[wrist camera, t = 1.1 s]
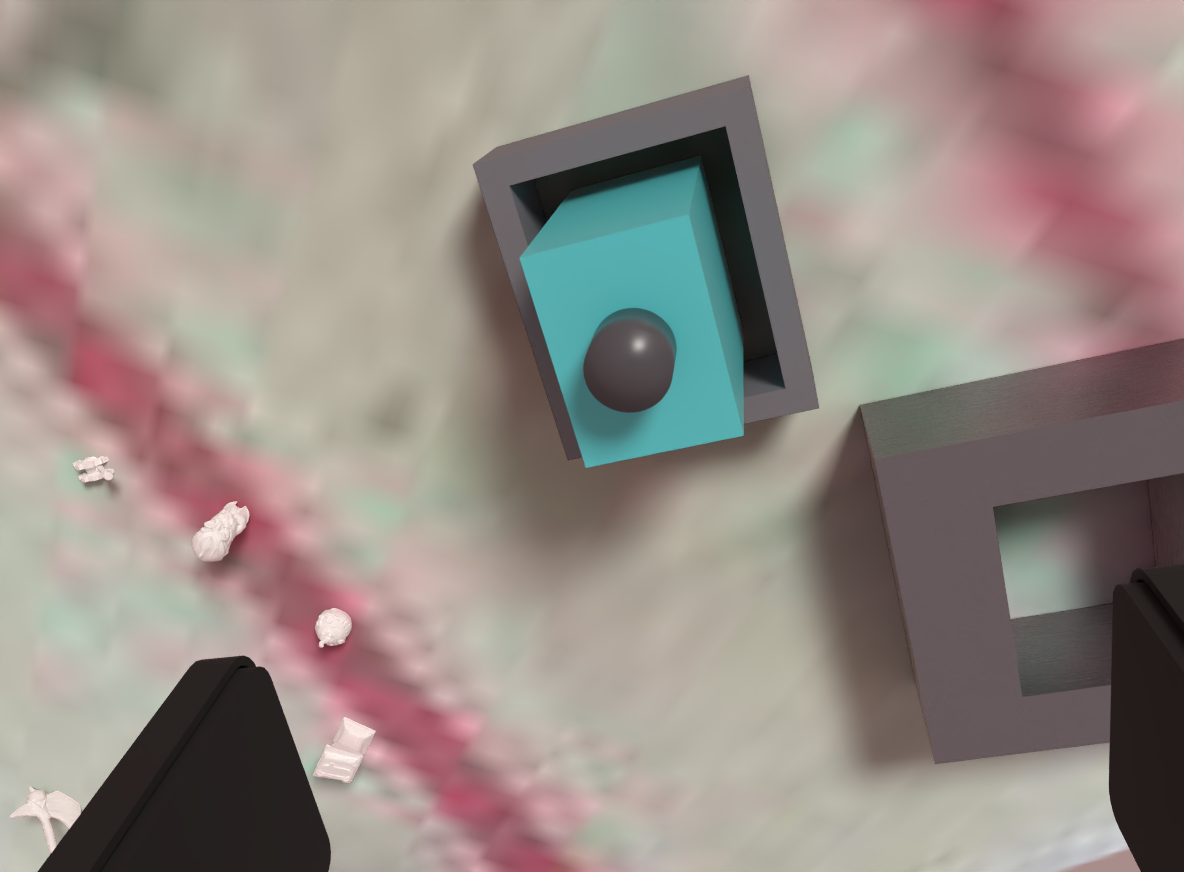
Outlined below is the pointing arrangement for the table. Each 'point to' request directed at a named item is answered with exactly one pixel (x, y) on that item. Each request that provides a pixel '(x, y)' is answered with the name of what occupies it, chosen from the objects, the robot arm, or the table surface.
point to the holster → (515, 166)
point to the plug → (640, 314)
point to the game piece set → (331, 630)
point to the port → (971, 550)
